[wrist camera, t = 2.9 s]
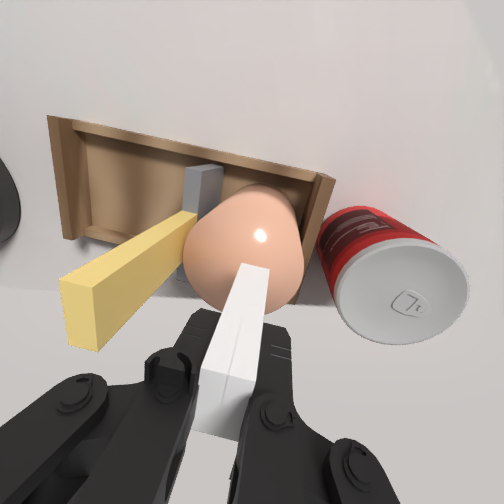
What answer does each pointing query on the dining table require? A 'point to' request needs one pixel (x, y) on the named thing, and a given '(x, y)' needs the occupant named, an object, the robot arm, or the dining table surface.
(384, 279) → the canned food
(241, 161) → the brown wooden tray
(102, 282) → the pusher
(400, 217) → the dining table surface
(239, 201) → the peach rounded capsule
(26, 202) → the dining table surface
